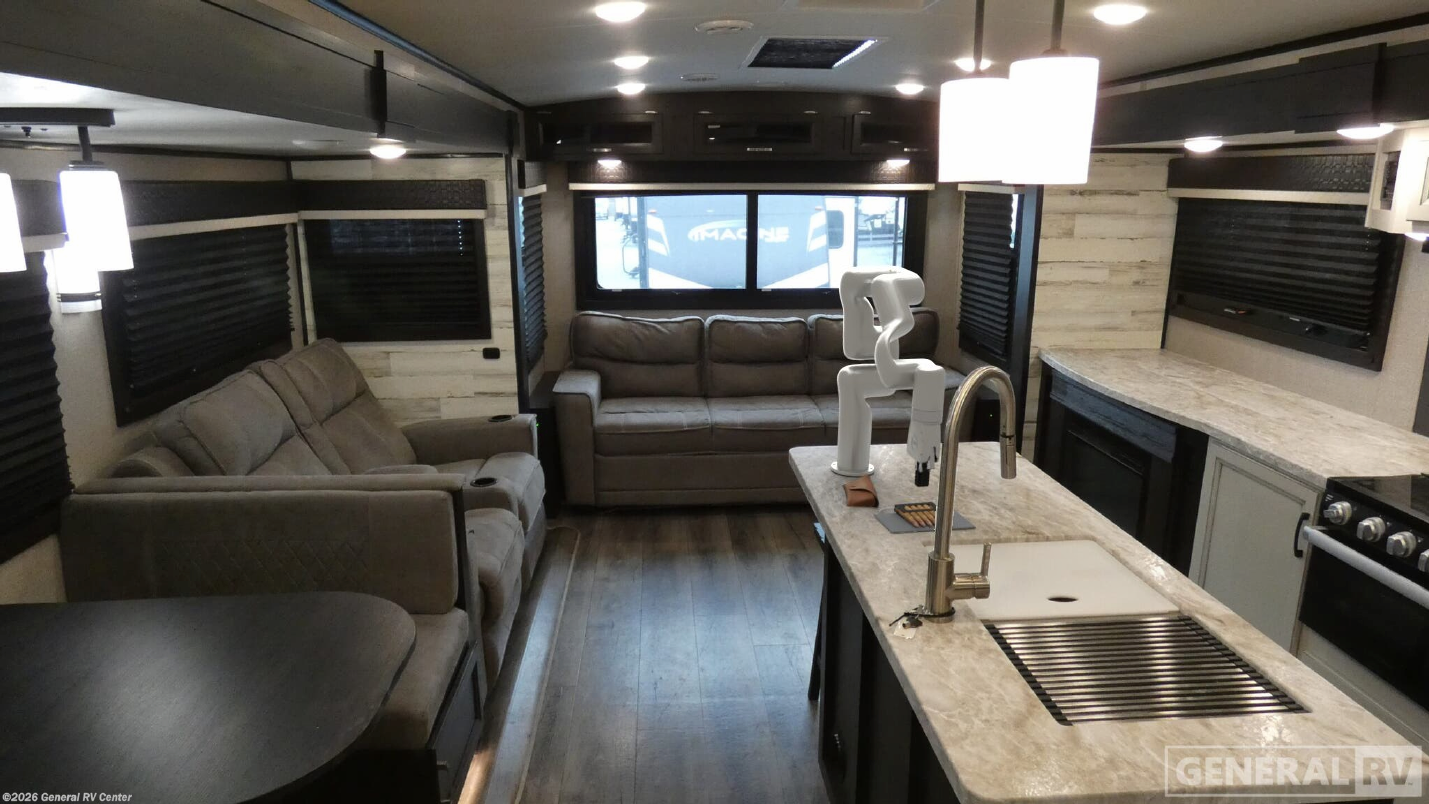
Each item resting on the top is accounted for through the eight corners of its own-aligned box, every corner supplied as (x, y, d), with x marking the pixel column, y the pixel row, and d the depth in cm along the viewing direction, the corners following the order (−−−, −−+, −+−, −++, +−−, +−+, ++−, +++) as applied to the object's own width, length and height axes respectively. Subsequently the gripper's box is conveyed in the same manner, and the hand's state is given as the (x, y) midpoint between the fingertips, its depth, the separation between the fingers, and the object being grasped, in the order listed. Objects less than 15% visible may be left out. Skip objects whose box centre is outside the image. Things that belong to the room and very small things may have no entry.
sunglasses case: (840, 484, 251) (853, 464, 250) (860, 496, 252) (874, 477, 250) (846, 506, 234) (861, 486, 232) (869, 520, 235) (883, 500, 233)
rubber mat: (873, 515, 228) (873, 514, 228) (954, 511, 232) (954, 509, 232) (891, 533, 217) (891, 532, 217) (975, 528, 221) (975, 526, 221)
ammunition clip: (932, 501, 232) (955, 520, 221) (932, 508, 232) (954, 527, 221) (894, 504, 229) (915, 523, 218) (893, 511, 230) (914, 530, 219)
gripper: (900, 408, 227) (896, 476, 232) (925, 423, 213) (919, 496, 217) (928, 407, 229) (923, 475, 233) (954, 422, 214) (948, 495, 219)
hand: (921, 485), depth 225 cm, fingers closed
